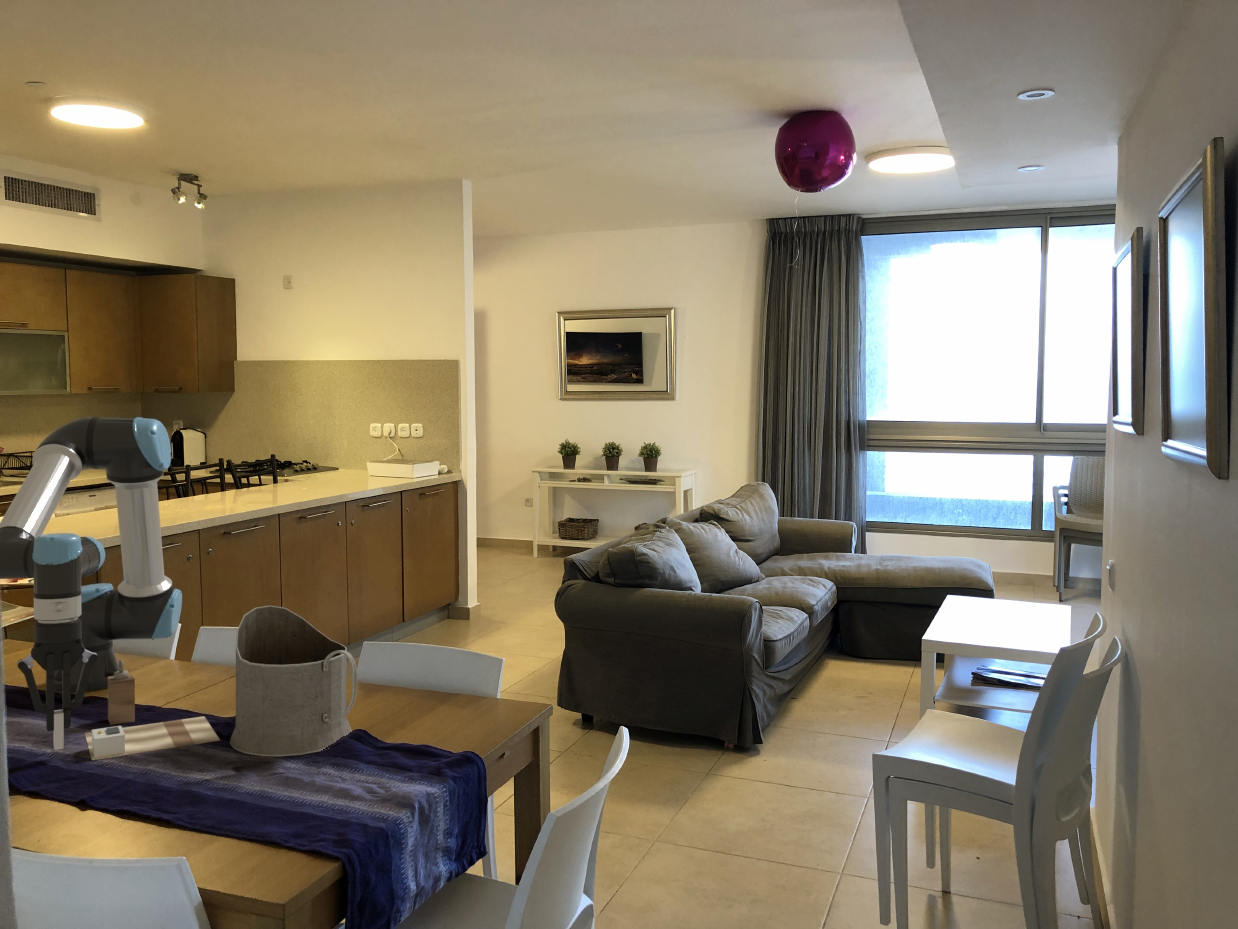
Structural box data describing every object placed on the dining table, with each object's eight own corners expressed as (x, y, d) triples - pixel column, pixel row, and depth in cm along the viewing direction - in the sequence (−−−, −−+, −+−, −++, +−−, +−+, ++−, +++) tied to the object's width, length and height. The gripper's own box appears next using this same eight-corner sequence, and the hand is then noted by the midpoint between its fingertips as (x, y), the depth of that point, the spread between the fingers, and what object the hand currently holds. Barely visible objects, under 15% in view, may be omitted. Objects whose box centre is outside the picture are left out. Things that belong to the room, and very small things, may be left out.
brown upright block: (108, 724, 199) (107, 659, 199) (132, 721, 202) (132, 657, 201) (110, 730, 196) (109, 664, 195) (134, 727, 198) (134, 661, 197)
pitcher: (306, 711, 211) (307, 598, 210) (402, 743, 192) (403, 619, 191) (206, 738, 192) (206, 614, 191) (302, 776, 174) (302, 639, 172)
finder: (91, 748, 182) (91, 727, 182) (121, 743, 185) (121, 723, 185) (94, 757, 177) (94, 736, 177) (124, 753, 180) (124, 732, 180)
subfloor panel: (84, 739, 190) (84, 733, 190) (204, 722, 202) (204, 716, 202) (91, 766, 176) (91, 760, 176) (220, 746, 188) (220, 740, 188)
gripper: (16, 626, 169) (17, 759, 170) (100, 619, 176) (100, 747, 177) (15, 618, 175) (16, 747, 176) (96, 612, 182) (97, 735, 183)
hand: (58, 747), depth 176 cm, fingers closed
